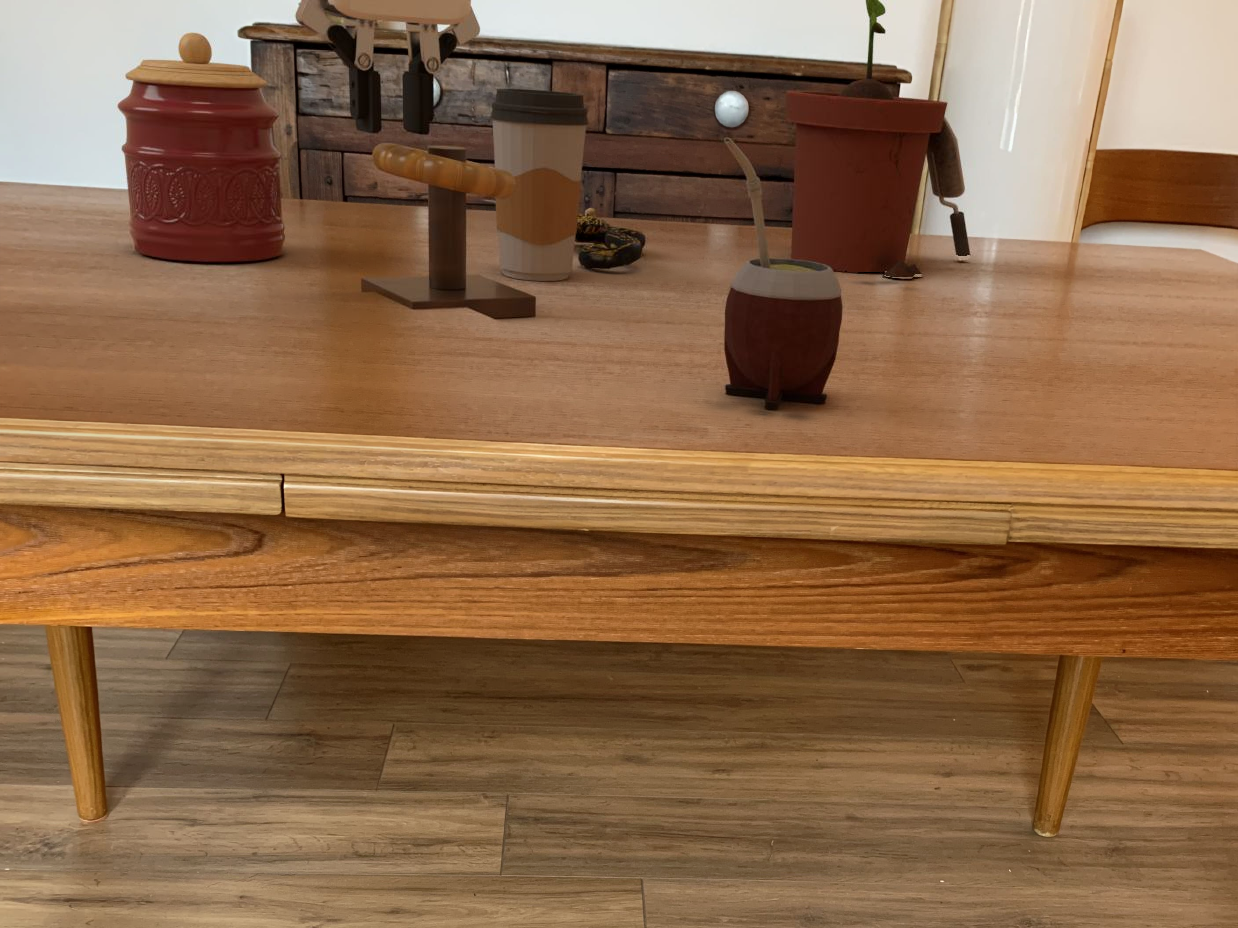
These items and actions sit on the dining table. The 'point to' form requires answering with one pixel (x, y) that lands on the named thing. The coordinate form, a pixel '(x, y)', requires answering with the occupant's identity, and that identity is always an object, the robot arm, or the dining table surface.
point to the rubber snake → (606, 243)
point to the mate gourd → (779, 320)
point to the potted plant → (868, 172)
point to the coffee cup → (539, 180)
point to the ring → (443, 171)
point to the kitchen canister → (201, 160)
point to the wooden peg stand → (451, 263)
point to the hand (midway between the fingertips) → (392, 129)
